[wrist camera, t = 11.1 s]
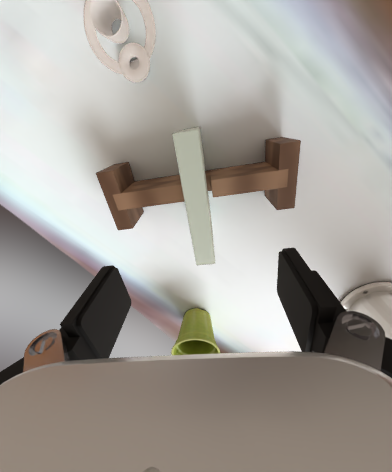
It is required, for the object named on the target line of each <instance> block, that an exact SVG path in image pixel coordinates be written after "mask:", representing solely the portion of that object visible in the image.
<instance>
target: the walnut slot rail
mask: <svg viewBox="0 0 392 472" xmlns="http://www.w3.org/2000/svg"><path fill="white" fill-rule="evenodd" d="M300 142H301V141H300V140H295V139H289V138H284V137H280V138H273V139H267V140H266V142H265V162H260V163H253V164H247V165H240V166H234V167H227V168H220V169H214V170H207V171H205V174H206V183H207V191H212V194H213V197H219V196H227V195H234V194H241V193H248V192H256V191H263V190H265V196H266V198H267V199H268V200H269V201H270V202H271V204H272V205H273V206H274V207H275V208H276V209H277V210H281V209H289V208H294V206H295V196H296V185H297V174H298V163H299V153H300ZM96 175H97V178H98V180H99V183H100V185H101V188H102V190H103V193H104V196H105V198H106V201H107V203H108V206H109V208H110V211H111V214H112V216H113V219H114V221H115V224H116V226H117V229H118V230H124V229H131V228H133V227H134V226H135V224H136V223H137V221H138V220H139V218H140V217H141V215H142V214H143V212H144V211H143V208H142V207H147V206H154V205H161V204H169V203H176V202H183V201H185V200H184V195H183V189H182V184H181V179H180V175H174V176H168V177H161V178H155V179H148V180H141V181H134V178H133V175H132V172H131V168H130V165H129V162H126V163H120V164H114V165H112V166H110V167H108V168H106V169H104V170H102V171H100V172H97V173H96Z"/></svg>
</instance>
